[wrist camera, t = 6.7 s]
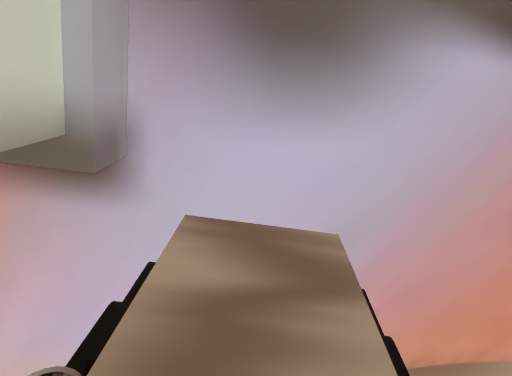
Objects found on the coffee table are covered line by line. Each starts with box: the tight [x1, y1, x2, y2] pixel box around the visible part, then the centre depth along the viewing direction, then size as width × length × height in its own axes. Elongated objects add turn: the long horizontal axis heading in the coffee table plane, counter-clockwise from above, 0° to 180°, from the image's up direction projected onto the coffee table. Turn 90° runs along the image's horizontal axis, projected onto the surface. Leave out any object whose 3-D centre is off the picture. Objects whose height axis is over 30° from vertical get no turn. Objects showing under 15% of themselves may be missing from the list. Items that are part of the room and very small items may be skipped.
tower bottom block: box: [0, 0, 129, 174], centre depth 19 cm, size 12×12×5 cm
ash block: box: [87, 215, 398, 376], centre depth 9 cm, size 5×5×7 cm
